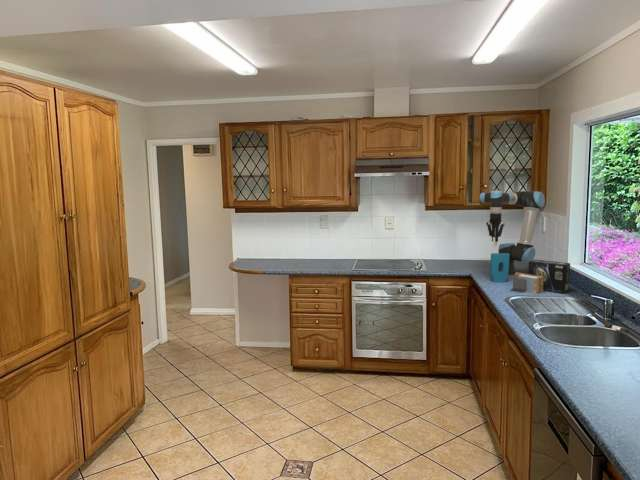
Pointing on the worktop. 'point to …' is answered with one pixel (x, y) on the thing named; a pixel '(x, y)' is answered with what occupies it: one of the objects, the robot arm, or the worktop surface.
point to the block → (494, 266)
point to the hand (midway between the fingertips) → (494, 246)
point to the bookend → (519, 285)
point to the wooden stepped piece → (538, 282)
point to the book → (528, 282)
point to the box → (551, 274)
